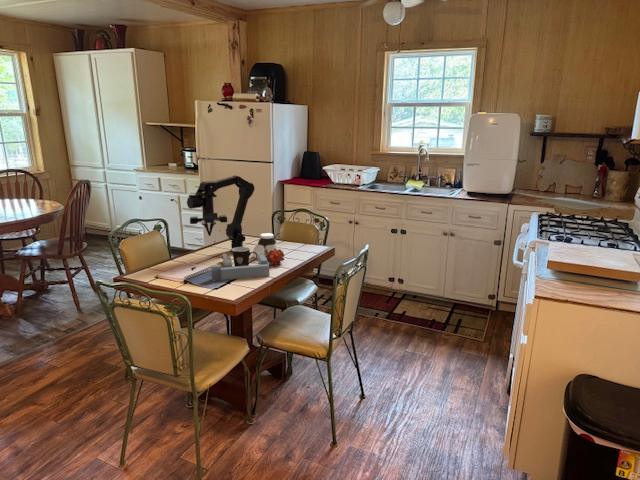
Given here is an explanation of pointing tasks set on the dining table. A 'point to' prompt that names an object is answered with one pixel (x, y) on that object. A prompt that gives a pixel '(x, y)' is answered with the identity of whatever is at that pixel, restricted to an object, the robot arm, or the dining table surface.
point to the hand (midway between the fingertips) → (209, 235)
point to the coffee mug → (242, 256)
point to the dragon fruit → (275, 256)
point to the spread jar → (265, 245)
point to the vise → (241, 270)
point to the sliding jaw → (227, 261)
